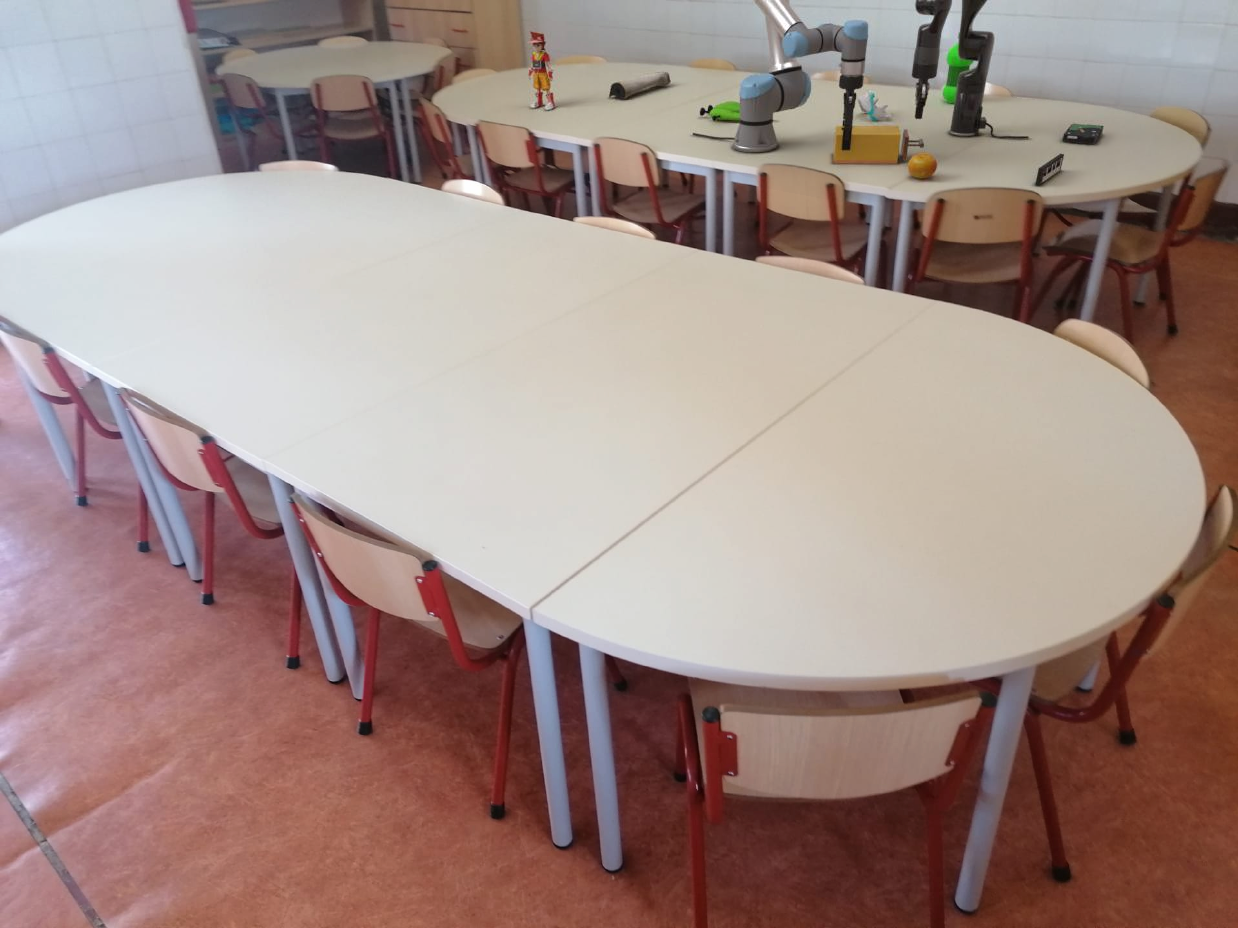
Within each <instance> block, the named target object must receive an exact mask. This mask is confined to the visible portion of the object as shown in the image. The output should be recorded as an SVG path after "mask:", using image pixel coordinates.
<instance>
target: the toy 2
mask: <svg viewBox="0 0 1238 928" xmlns="http://www.w3.org/2000/svg"><path fill="white" fill-rule="evenodd" d="M705 114H709V116H710V117H711V119H712V121H717V120H719V121H739V114H740V102H737V101H733V100H729V101H725V102H721V103H719V104H716V105H715V106H713V105H712V104H709V105H708V107H707V110H706V108H705V107H701V108H700V110H699V116H701V117H703V116H705ZM775 121H777V120H776V119H773V122H775Z"/></svg>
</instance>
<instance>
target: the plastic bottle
mask: <svg viewBox="0 0 1238 928" xmlns="http://www.w3.org/2000/svg"><path fill="white" fill-rule="evenodd" d="M959 33H960V31H959V32H958V36H957V39H959ZM946 63H947V64H948V69H947V70H948V71H947V76H946V77H947V78H946V84H945V85H944V87H943V90H942V97H943V99H944V100H945V101H946V102H947V103H948V104H954V103H955V96H956V90H957V83H958V77H959V74H960V73H961V72H963V71H966V70H970V67H971V65H972V64H973V63H974V61H969V60H962V59H960V58H959V56H958V42H957V43H956V44H954V45H953V46H952V47H951V48H950V49H949V50H948V52H947V54H946Z"/></svg>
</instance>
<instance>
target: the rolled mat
mask: <svg viewBox="0 0 1238 928" xmlns="http://www.w3.org/2000/svg"><path fill="white" fill-rule="evenodd" d="M671 83H672V81H671V77H670V74H669V72H668V71H658V72H654V73H649V74H645V75H640V76H637V77H633V78H628V79H623V80H620V81H616V82H613V83H612V84H611V85H610V89H609V95H608V97H609V98H611V97H616V99H620V100H622V101H623V100H626V99H627V98H629V97H630V96H632V95H635V94H636V93H638V92H640V91H643V90H644V89H647V88H650V87H655V86H658V87H659V86H661V87H665V86H669V85H670V84H671Z"/></svg>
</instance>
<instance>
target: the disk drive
mask: <svg viewBox="0 0 1238 928" xmlns="http://www.w3.org/2000/svg"><path fill="white" fill-rule="evenodd" d="M1104 127H1105V126H1104V125H1100V124H1099V125H1097V124H1081V123H1071V124H1070V126H1069V127H1068V128H1067V129H1066V130H1065V131H1064V133H1063V136H1062V139H1061V140H1062V141H1063V142H1068V143H1077V144H1090V145H1094V144H1096V143H1097V141H1098V140H1099V138H1100V136H1101V135H1102V134H1103V131H1104Z"/></svg>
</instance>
